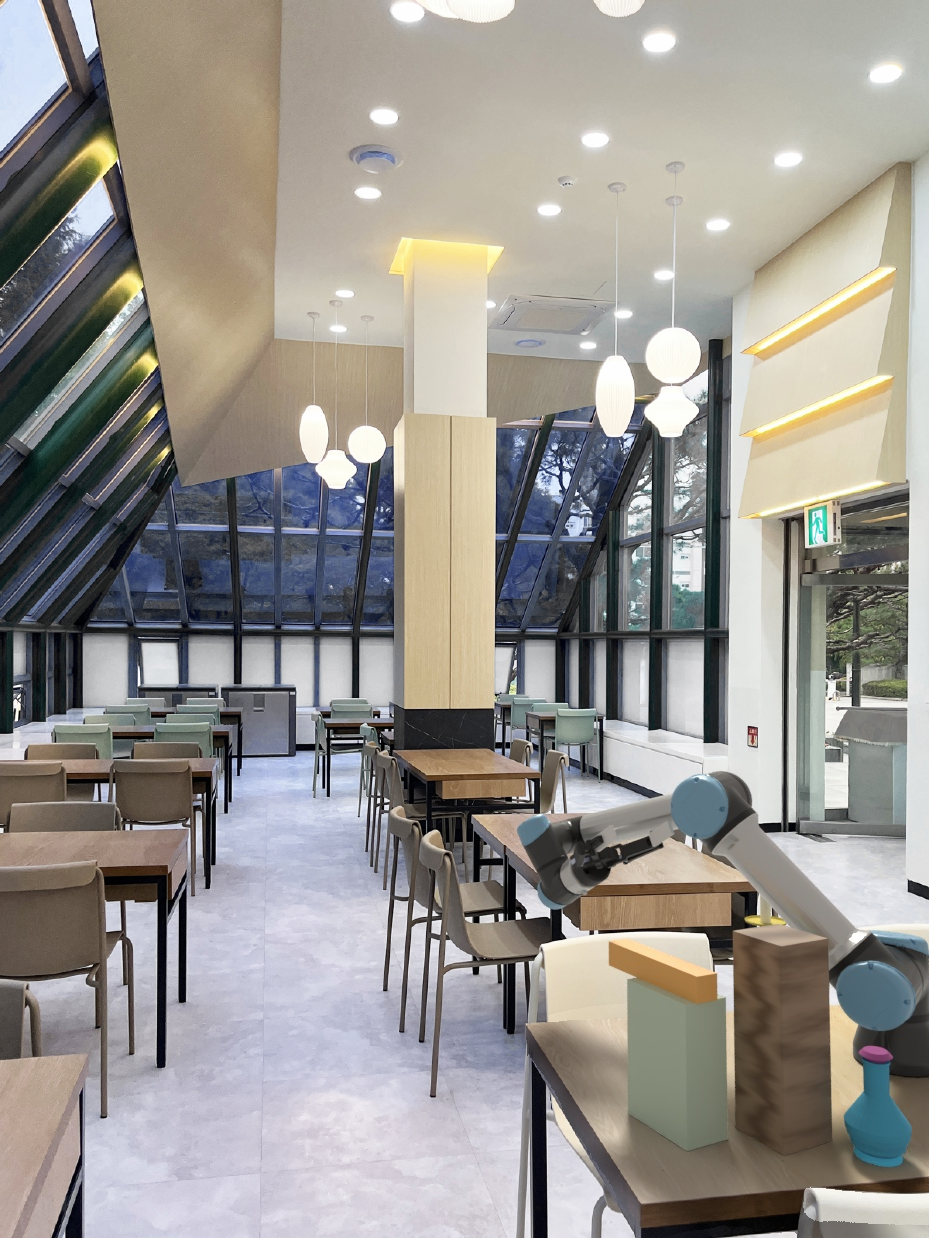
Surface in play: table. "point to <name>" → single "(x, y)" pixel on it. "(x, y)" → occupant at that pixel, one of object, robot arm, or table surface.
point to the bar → (664, 970)
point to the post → (782, 1037)
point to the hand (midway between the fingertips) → (643, 829)
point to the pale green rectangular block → (677, 1065)
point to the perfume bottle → (877, 1114)
